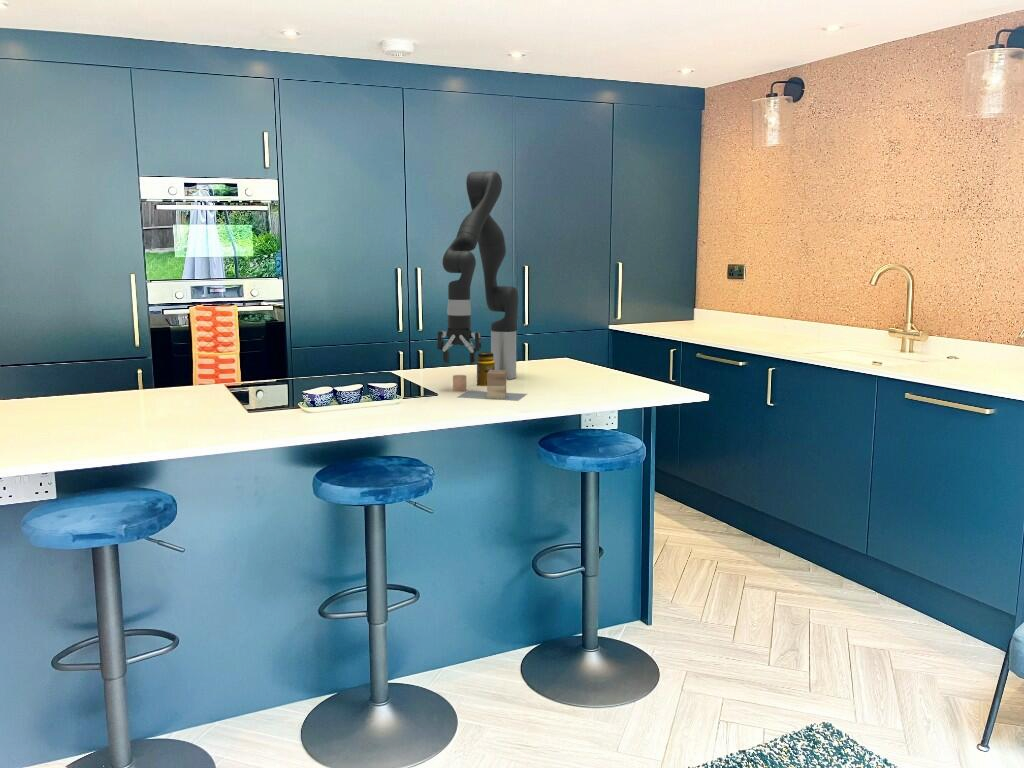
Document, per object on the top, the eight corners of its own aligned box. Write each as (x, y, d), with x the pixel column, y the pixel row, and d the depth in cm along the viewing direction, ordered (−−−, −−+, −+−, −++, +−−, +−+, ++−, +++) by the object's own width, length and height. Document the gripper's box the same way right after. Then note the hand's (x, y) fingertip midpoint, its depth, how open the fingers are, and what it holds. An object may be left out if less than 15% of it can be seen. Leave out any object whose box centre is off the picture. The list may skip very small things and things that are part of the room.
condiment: (496, 389, 283) (496, 354, 281) (471, 390, 282) (471, 354, 280) (494, 385, 290) (494, 351, 288) (469, 386, 289) (469, 351, 287)
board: (468, 394, 274) (468, 390, 273) (527, 397, 268) (527, 393, 268) (456, 401, 262) (456, 397, 262) (518, 404, 257) (518, 400, 257)
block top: (489, 382, 265) (489, 370, 264) (506, 383, 265) (506, 370, 264) (487, 385, 260) (487, 373, 259) (504, 386, 259) (504, 373, 258)
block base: (489, 395, 266) (489, 382, 265) (506, 395, 265) (506, 383, 265) (487, 398, 260) (487, 385, 260) (504, 398, 260) (504, 386, 259)
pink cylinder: (455, 392, 277) (455, 374, 276) (468, 393, 276) (468, 375, 275) (451, 394, 273) (451, 376, 272) (464, 395, 272) (463, 377, 271)
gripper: (483, 313, 272) (483, 363, 274) (442, 312, 275) (442, 361, 278) (476, 315, 265) (476, 365, 267) (434, 313, 268) (434, 364, 271)
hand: (459, 363), depth 272 cm, fingers open, 8 cm apart
